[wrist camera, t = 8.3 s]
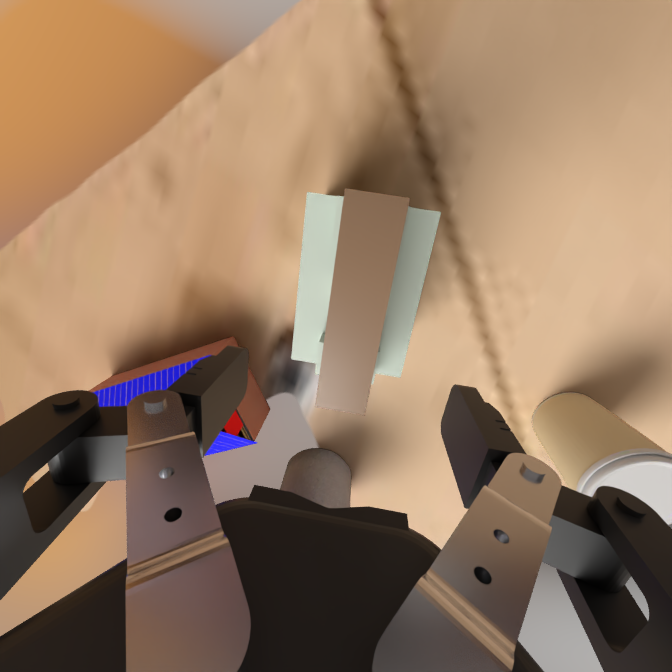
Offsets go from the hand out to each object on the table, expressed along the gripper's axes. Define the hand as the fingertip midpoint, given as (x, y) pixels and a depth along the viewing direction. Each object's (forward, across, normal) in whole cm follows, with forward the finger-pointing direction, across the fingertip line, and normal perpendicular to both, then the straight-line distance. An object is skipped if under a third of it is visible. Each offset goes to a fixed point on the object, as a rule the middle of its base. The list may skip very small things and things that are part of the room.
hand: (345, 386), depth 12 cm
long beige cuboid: (+13, 0, 0) cm, 13 cm away
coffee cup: (+25, -28, +14) cm, 40 cm away
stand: (+25, 0, 0) cm, 25 cm away
